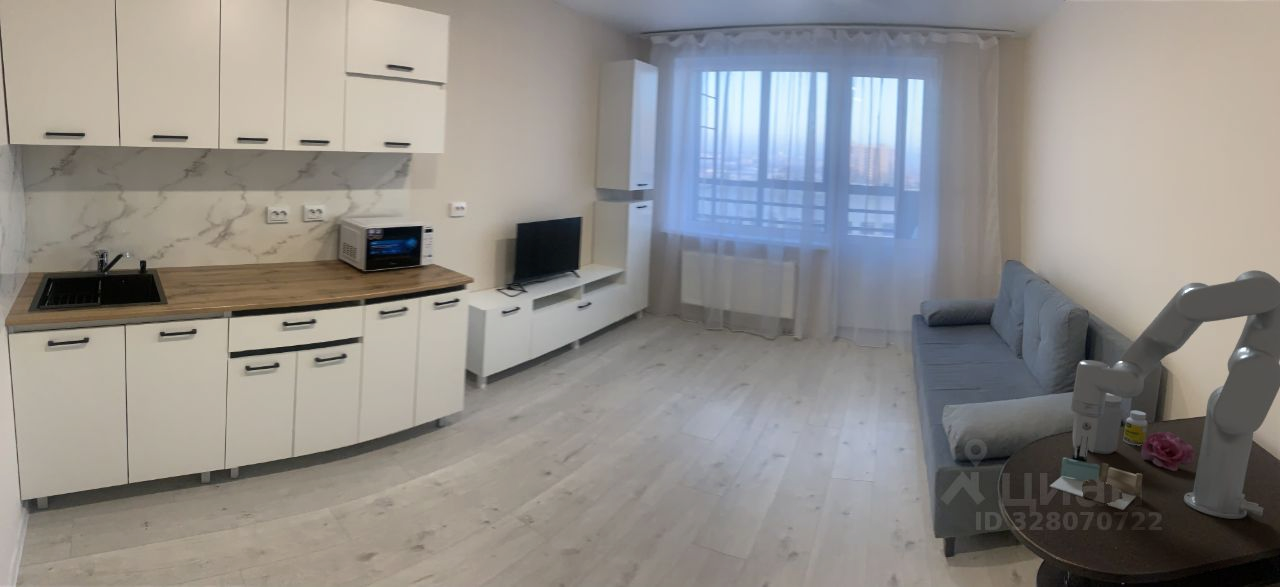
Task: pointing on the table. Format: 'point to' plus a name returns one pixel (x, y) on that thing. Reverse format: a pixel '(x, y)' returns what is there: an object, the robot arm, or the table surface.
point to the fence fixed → (1121, 479)
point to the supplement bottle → (1135, 428)
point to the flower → (1167, 450)
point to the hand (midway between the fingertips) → (1077, 470)
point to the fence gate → (1079, 469)
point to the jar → (1109, 425)
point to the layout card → (1076, 488)
